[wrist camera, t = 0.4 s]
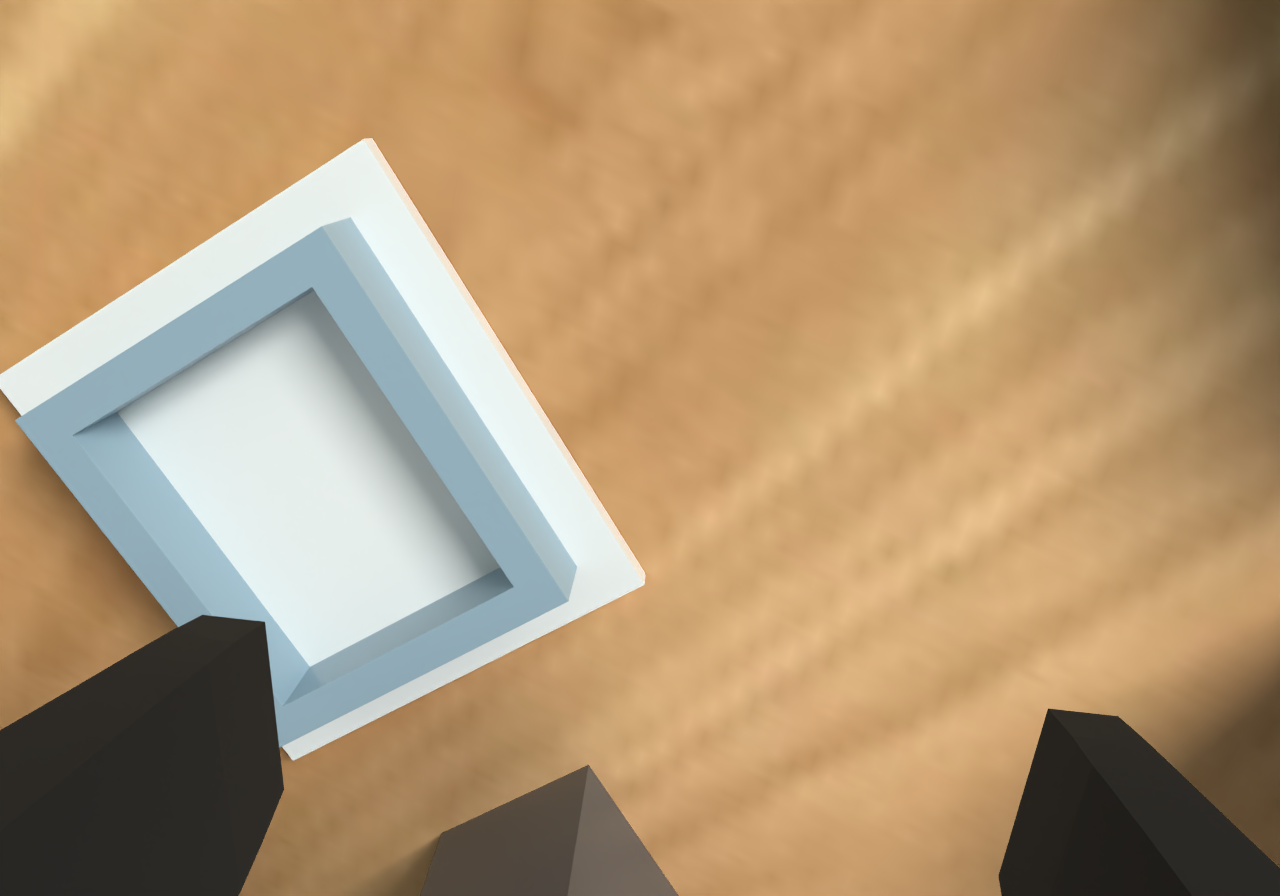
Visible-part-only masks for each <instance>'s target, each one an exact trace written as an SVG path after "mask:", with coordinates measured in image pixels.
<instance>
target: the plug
mask: <svg viewBox="0 0 1280 896" xmlns="http://www.w3.org/2000/svg"><path fill="white" fill-rule="evenodd" d="M420 896H678V894H677V893H676V891H675V890H674V888H673V887H672V885H671V884H670V882H669V881H668V880H667V878H666V877H665V875H664V874H663V872H662V871H661V869H660V868H659V866H658V865H657V864H656V862H655V861H654V859H653V858H652V856H651V855H650V853H649V852H648V851H647V849H646V848H645V846H644V845H643V843H642V842H641V840H640V839H639V837H638V836H637V835H636V833H635V832H634V830H633V829H632V827H631V826H630V824H629V823H628V821H627V820H626V819H625V817H624V816H623V814H622V813H621V811H620V810H619V808H618V807H617V805H616V804H615V803H614V801H613V800H612V798H611V797H610V795H609V794H608V792H607V791H606V789H605V788H604V787H603V785H602V784H601V782H600V781H599V779H598V778H597V776H596V775H595V773H594V772H593V771H592V769H591V768H590V766H589V765H587V766H585V767H583V768H581V769H579V770H577V771H574V772H572V773H570V774H568V775H566V776H564V777H562V778H559V779H557V780H555V781H553V782H551V783H549V784H547V785H544V786H542V787H540V788H538V789H536V790H534V791H531V792H529V793H527V794H525V795H523V796H521V797H519V798H516V799H514V800H512V801H510V802H508V803H506V804H504V805H501V806H499V807H497V808H495V809H493V810H491V811H488V812H486V813H484V814H482V815H480V816H478V817H476V818H473V819H471V820H469V821H467V822H465V823H463V824H461V825H458V826H456V827H454V828H452V829H450V830H448V831H445V832H443V833H442V834H441V837H440V840H439V843H438V846H437V848H436V851H435V854H434V857H433V860H432V863H431V866H430V868H429V871H428V874H427V877H426V880H425V883H424V886H423V888H422V891H421V894H420Z"/></svg>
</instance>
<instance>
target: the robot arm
mask: <svg viewBox="0 0 1280 896" xmlns="http://www.w3.org/2000/svg"><path fill="white" fill-rule="evenodd" d="M283 790H284V785H283V776H282V768H281V759H280V750H279V741H278V732H277V723H276V714H275V705H274V697H273V688H272V679H271V670H270V661H269V652H268V643H267V634H266V625H265V622H263V621H254V620H245V619H236V618H227V617H218V616H209V615H201V616H199V617H197V618H195V619H193V620H191V621H189V622H187V623H185V624H184V625H182V626H180V627H178V628H176V629H174V630H172V631H171V632H169V633H167V634H165V635H163V636H162V637H160V638H158V639H156V640H155V641H153V642H151V643H149V644H148V645H146V646H144V647H142V648H141V649H139V650H137V651H135V652H134V653H132V654H130V655H129V656H127V657H125V658H124V659H122V660H120V661H118V662H117V663H115V664H113V665H112V666H110V667H108V668H107V669H105V670H103V671H101V672H100V673H98V674H96V675H95V676H93V677H91V678H90V679H88V680H86V681H84V682H83V683H81V684H79V685H78V686H76V687H74V688H73V689H71V690H69V691H67V692H66V693H64V694H62V695H61V696H59V697H57V698H55V699H54V700H52V701H50V702H48V703H47V704H45V705H43V706H42V707H40V708H38V709H36V710H35V711H33V712H31V713H29V714H28V715H26V716H24V717H23V718H21V719H19V720H17V721H16V722H14V723H12V724H11V725H9V726H7V727H5V728H4V729H2V730H0V896H238V895H239V893H240V891H241V889H242V887H243V885H244V882H245V880H246V878H247V876H248V873H249V871H250V869H251V867H252V864H253V862H254V860H255V858H256V855H257V853H258V851H259V849H260V846H261V844H262V842H263V839H264V837H265V834H266V832H267V829H268V827H269V825H270V822H271V820H272V817H273V815H274V812H275V810H276V807H277V805H278V803H279V800H280V798H281V795H282V793H283ZM999 881H1000V887H1001V893H1002V896H1280V868H1279V867H1278V866H1277V865H1276V864H1275V863H1273V862H1272V861H1271V860H1270V859H1269V858H1268V857H1267V856H1266V855H1265V854H1264V853H1263V852H1262V851H1261V850H1260V849H1259V848H1258V847H1257V846H1256V845H1254V844H1253V843H1252V842H1251V841H1250V840H1249V839H1248V838H1247V837H1246V836H1245V835H1244V834H1243V833H1242V832H1241V831H1240V830H1239V829H1238V828H1237V827H1236V826H1235V825H1233V824H1232V823H1231V822H1230V821H1229V820H1228V819H1227V818H1226V817H1225V816H1224V815H1223V814H1222V813H1221V812H1220V811H1219V810H1218V809H1217V808H1216V807H1215V806H1214V805H1213V804H1212V803H1210V802H1209V801H1208V800H1207V799H1206V798H1205V797H1204V796H1203V795H1202V794H1201V793H1200V792H1199V791H1198V790H1197V789H1196V788H1195V787H1194V786H1193V785H1192V784H1191V783H1190V782H1189V781H1188V780H1187V779H1185V778H1184V777H1183V776H1182V775H1181V774H1180V773H1179V772H1178V771H1177V770H1176V769H1175V768H1174V767H1173V766H1172V765H1171V764H1170V763H1169V762H1168V761H1167V760H1166V759H1165V758H1163V757H1162V756H1161V755H1160V754H1159V753H1158V752H1157V751H1156V750H1155V749H1154V748H1153V747H1152V746H1151V745H1150V744H1149V743H1147V742H1146V741H1145V740H1144V739H1143V738H1142V737H1141V736H1140V735H1139V734H1138V733H1137V732H1135V731H1134V730H1133V729H1132V728H1131V727H1130V726H1129V725H1127V724H1126V723H1125V722H1124V721H1123V720H1122V719H1121V718H1119V717H1118V716H1110V715H1100V714H1091V713H1082V712H1073V711H1064V710H1055V709H1048V711H1047V714H1046V718H1045V721H1044V724H1043V728H1042V731H1041V735H1040V738H1039V741H1038V745H1037V748H1036V751H1035V755H1034V758H1033V762H1032V765H1031V768H1030V772H1029V775H1028V778H1027V782H1026V785H1025V789H1024V792H1023V795H1022V799H1021V802H1020V805H1019V809H1018V812H1017V816H1016V819H1015V822H1014V826H1013V829H1012V833H1011V836H1010V839H1009V843H1008V846H1007V849H1006V853H1005V856H1004V860H1003V863H1002V866H1001V870H1000V873H999Z"/></svg>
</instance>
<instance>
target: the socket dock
mask: <svg viewBox="0 0 1280 896" xmlns="http://www.w3.org/2000/svg"><path fill="white" fill-rule="evenodd" d="M0 389H1V390H2V391H3V393H4V394H5V395H6V397H7V398H8V399H9V400H10V402H11V403H12V404H13V405H14V407H15V408H16V409H17V411H18V412H19V413H20V414H21V417H19V418H18V419H16V420H15V421H16V423H17V424H18V425H19V426H20V428H21V429H22V430H23V431H24V433H25V434H26V435H27V437H28V438H29V439H30V440H31V442H32V443H33V444H34V445H35V447H36V448H37V449H38V450H39V452H40V453H41V454H42V456H43V457H44V458H45V459H46V461H47V462H48V463H49V464H50V466H51V467H52V468H53V469H54V471H55V472H56V473H57V475H58V476H59V477H60V478H61V480H62V481H63V482H64V483H65V485H66V486H67V487H68V488H69V490H70V491H71V492H72V494H73V495H74V496H75V497H76V499H77V500H78V501H79V502H80V504H81V505H82V506H83V507H84V509H85V510H86V511H87V512H88V514H89V515H90V516H91V518H92V519H93V520H94V521H95V523H96V524H97V525H98V526H99V528H100V529H101V530H102V531H103V533H104V534H105V535H106V537H107V538H108V539H109V540H110V542H111V543H112V544H113V545H114V547H115V548H116V549H117V550H118V552H119V553H120V554H121V556H122V557H123V558H124V559H125V561H126V562H127V563H128V564H129V566H130V567H131V568H132V569H133V571H134V572H135V573H136V575H137V576H138V577H139V578H140V580H141V581H142V582H143V583H144V585H145V586H146V587H147V588H148V590H149V591H150V592H151V593H152V595H153V596H154V597H155V599H156V600H157V601H158V602H159V604H160V605H161V606H162V607H163V609H164V610H165V611H166V612H167V614H168V615H169V616H170V618H171V619H172V620H173V621H174V623H175V624H176V625H177V626H178V627H180V626H182V625H184V624H185V623H187V622H189V621H191V620H193V619H195V618H197V617H199V616H201V615H209V616H218V617H227V618H236V619H245V620H254V621H263V622H265V625H266V634H267V643H268V652H269V661H270V670H271V679H272V688H273V697H274V705H275V714H276V723H277V732H278V741H279V748H280V747H283V749H284V750H285V751H286V752H287V754H288V755H289V756H290V758H291V759H292V760H293V761H294V760H296V759H298V758H300V757H302V756H304V755H306V754H308V753H310V752H312V751H314V750H316V749H318V748H320V747H322V746H324V745H326V744H328V743H330V742H332V741H334V740H336V739H338V738H340V737H342V736H344V735H346V734H348V733H350V732H352V731H354V730H356V729H358V728H360V727H362V726H364V725H366V724H368V723H370V722H372V721H374V720H376V719H378V718H380V717H382V716H383V715H385V714H387V713H389V712H391V711H393V710H395V709H397V708H399V707H401V706H403V705H405V704H407V703H409V702H411V701H413V700H415V699H417V698H419V697H421V696H423V695H425V694H427V693H429V692H431V691H433V690H435V689H437V688H439V687H441V686H443V685H445V684H447V683H449V682H451V681H453V680H455V679H457V678H459V677H461V676H463V675H465V674H467V673H469V672H471V671H473V670H475V669H477V668H479V667H481V666H483V665H485V664H487V663H489V662H491V661H493V660H495V659H497V658H499V657H501V656H503V655H505V654H507V653H509V652H511V651H513V650H515V649H517V648H519V647H521V646H523V645H525V644H527V643H529V642H531V641H533V640H535V639H537V638H539V637H541V636H543V635H545V634H547V633H549V632H551V631H553V630H555V629H557V628H559V627H561V626H563V625H565V624H567V623H569V622H571V621H573V620H575V619H577V618H579V617H581V616H583V615H585V614H587V613H589V612H591V611H593V610H595V609H597V608H599V607H601V606H603V605H605V604H607V603H609V602H611V601H613V600H615V599H617V598H619V597H621V596H623V595H625V594H627V593H629V592H631V591H633V590H635V589H637V588H639V587H641V586H643V585H644V584H645V575H646V574H645V572H644V571H643V569H642V567H641V566H640V564H639V563H638V561H637V559H636V558H635V556H634V555H633V553H632V551H631V550H630V548H629V547H628V545H627V544H626V542H625V540H624V539H623V537H622V536H621V534H620V532H619V531H618V529H617V528H616V526H615V524H614V523H613V521H612V520H611V518H610V516H609V515H608V513H607V512H606V510H605V508H604V507H603V505H602V504H601V502H600V500H599V499H598V497H597V496H596V494H595V493H594V491H593V489H592V488H591V486H590V485H589V483H588V481H587V480H586V478H585V477H584V475H583V473H582V472H581V470H580V469H579V467H578V465H577V464H576V462H575V461H574V459H573V457H572V456H571V454H570V453H569V451H568V449H567V448H566V446H565V445H564V443H563V442H562V440H561V438H560V437H559V435H558V434H557V432H556V430H555V429H554V427H553V426H552V424H551V422H550V421H549V419H548V418H547V416H546V414H545V413H544V411H543V410H542V408H541V406H540V405H539V403H538V402H537V400H536V398H535V397H534V395H533V394H532V392H531V391H530V389H529V387H528V386H527V384H526V383H525V381H524V379H523V378H522V376H521V375H520V373H519V371H518V370H517V368H516V367H515V365H514V363H513V362H512V360H511V359H510V357H509V355H508V354H507V352H506V351H505V349H504V347H503V346H502V344H501V343H500V341H499V339H498V338H497V336H496V335H495V333H494V332H493V330H492V328H491V327H490V325H489V324H488V322H487V320H486V319H485V317H484V316H483V314H482V312H481V311H480V309H479V308H478V306H477V304H476V303H475V301H474V300H473V298H472V296H471V295H470V293H469V292H468V290H467V288H466V287H465V285H464V284H463V282H462V281H461V279H460V277H459V276H458V274H457V273H456V271H455V269H454V268H453V266H452V265H451V263H450V261H449V260H448V258H447V257H446V255H445V253H444V252H443V250H442V249H441V247H440V245H439V244H438V242H437V241H436V239H435V237H434V236H433V234H432V233H431V231H430V230H429V228H428V226H427V225H426V223H425V222H424V220H423V218H422V217H421V215H420V214H419V212H418V210H417V209H416V207H415V206H414V204H413V202H412V201H411V199H410V198H409V196H408V194H407V193H406V191H405V190H404V188H403V186H402V185H401V183H400V182H399V180H398V179H397V177H396V175H395V174H394V172H393V171H392V169H391V167H390V166H389V164H388V163H387V161H386V159H385V158H384V156H383V155H382V153H381V151H380V150H379V148H378V147H377V145H376V143H375V142H374V140H373V139H372V138H369V139H363V140H361V141H360V142H358V143H357V144H355V145H354V146H352V147H350V148H349V149H347V150H346V151H344V152H343V153H341V154H340V155H338V156H337V157H335V158H333V159H332V160H330V161H329V162H327V163H326V164H324V165H323V166H321V167H320V168H318V169H317V170H315V171H313V172H312V173H310V174H309V175H307V176H306V177H304V178H303V179H301V180H300V181H298V182H296V183H295V184H293V185H292V186H290V187H289V188H287V189H286V190H284V191H283V192H281V193H279V194H278V195H276V196H275V197H273V198H272V199H270V200H269V201H267V202H266V203H264V204H263V205H261V206H259V207H258V208H256V209H255V210H253V211H252V212H250V213H249V214H247V215H246V216H244V217H242V218H241V219H239V220H238V221H236V222H235V223H233V224H232V225H230V226H229V227H227V228H225V229H224V230H222V231H221V232H219V233H218V234H216V235H215V236H213V237H212V238H210V239H209V240H207V241H205V242H204V243H202V244H201V245H199V246H198V247H196V248H195V249H193V250H192V251H190V252H188V253H187V254H185V255H184V256H182V257H181V258H179V259H178V260H176V261H175V262H173V263H171V264H170V265H168V266H167V267H165V268H164V269H162V270H161V271H159V272H158V273H156V274H155V275H153V276H151V277H150V278H148V279H147V280H145V281H144V282H142V283H141V284H139V285H138V286H136V287H134V288H133V289H131V290H130V291H128V292H127V293H125V294H124V295H122V296H121V297H119V298H117V299H116V300H114V301H113V302H111V303H110V304H108V305H107V306H105V307H104V308H102V309H101V310H99V311H97V312H96V313H94V314H93V315H91V316H90V317H88V318H87V319H85V320H84V321H82V322H80V323H79V324H77V325H76V326H74V327H73V328H71V329H70V330H68V331H67V332H65V333H63V334H62V335H60V336H59V337H57V338H56V339H54V340H53V341H51V342H50V343H48V344H47V345H45V346H43V347H42V348H40V349H39V350H37V351H36V352H34V353H33V354H31V355H30V356H28V357H26V358H25V359H23V360H22V361H20V362H19V363H17V364H16V365H14V366H13V367H11V368H9V369H8V370H6V371H5V372H3V373H2V374H0Z"/></svg>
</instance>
